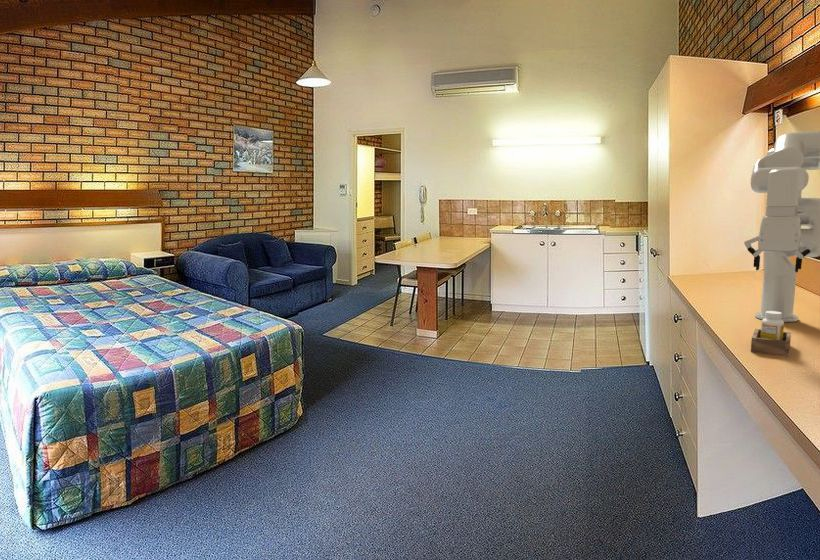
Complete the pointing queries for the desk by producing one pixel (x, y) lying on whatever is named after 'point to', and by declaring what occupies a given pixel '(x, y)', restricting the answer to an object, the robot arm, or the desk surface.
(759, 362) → the desk surface
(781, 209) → the robot arm
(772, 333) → the supplement bottle
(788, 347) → the walled box
